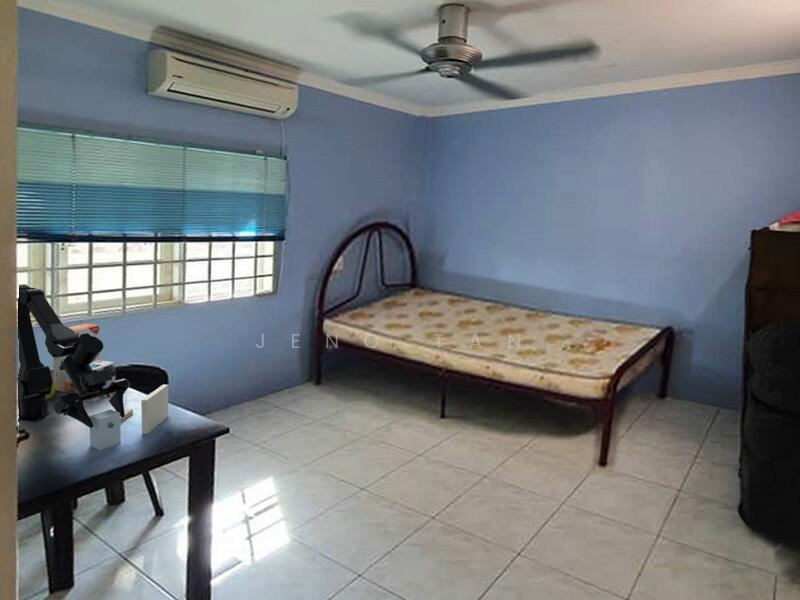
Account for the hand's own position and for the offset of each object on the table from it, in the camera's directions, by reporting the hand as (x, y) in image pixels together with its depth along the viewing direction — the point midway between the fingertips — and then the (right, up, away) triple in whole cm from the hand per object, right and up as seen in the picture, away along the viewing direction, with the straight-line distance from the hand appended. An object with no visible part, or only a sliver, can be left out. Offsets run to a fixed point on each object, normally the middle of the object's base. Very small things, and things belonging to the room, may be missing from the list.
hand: (108, 421), depth 151 cm
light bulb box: (-23, 0, +37) cm, 43 cm away
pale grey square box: (-2, -6, +2) cm, 7 cm away
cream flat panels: (0, -4, +17) cm, 17 cm away
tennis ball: (-37, 0, +31) cm, 48 cm away
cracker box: (-33, +2, +45) cm, 56 cm away
